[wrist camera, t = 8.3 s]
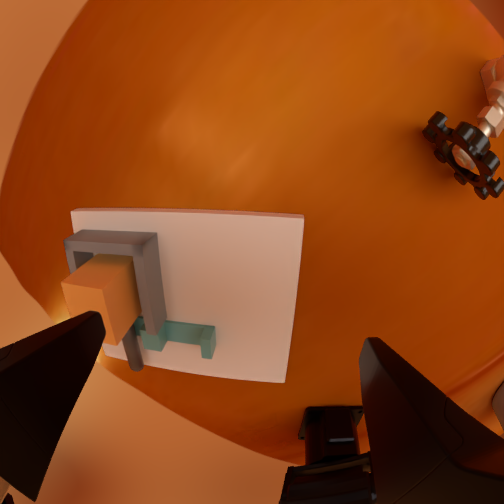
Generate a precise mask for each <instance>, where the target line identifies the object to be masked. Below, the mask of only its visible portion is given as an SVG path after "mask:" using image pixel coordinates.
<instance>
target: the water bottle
mask: <svg viewBox="0 0 504 504" xmlns="http://www.w3.org/2000/svg"><path fill="white" fill-rule="evenodd" d="M492 407H493V410H494V412H495V414H496V416H497V418H498V420H499V422H500V424H501V426H502V428H503V430H504V382H503V384H502V385H501V386H500V388H499V389H498V391H497V392H496V394H495V396H494V398H493V401H492Z"/></svg>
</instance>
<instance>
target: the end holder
mask: <svg viewBox="0 0 504 504" xmlns="http://www.w3.org/2000/svg"><path fill="white" fill-rule="evenodd" d="M63 241H64V246H65V251H66V256H67V261H68V265H69V270H70V274H72V273H73V272H74V271H76V270H77V269H78V268H79V267H81V266H82V265H83V264H85V263H86V262H87V261H89V260H90V259H91V258H93V257H94V256H93V253H102V254H114V255H126V256H133V261H134V268H135V275H136V281H137V287H138V293H139V298H140V303H141V309H142V314H143V319H144V324H145V328H146V333H147V334H149V335H155V336H156V335H157V334H158V332H159V330H160V329H161V327H162V325H163V323H164V322H165V320H166V318H167V312H166V306H165V299H164V291H163V283H162V275H161V267H160V257H159V247H158V237H157V232H135V231H112V230H86V229H82V230H80V231H78V232H76V233H75V234H73V235H71V236H70V237H68V238H66V239H65V240H63Z"/></svg>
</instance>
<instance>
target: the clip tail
mask: <svg viewBox="0 0 504 504" xmlns="http://www.w3.org/2000/svg"><path fill="white" fill-rule="evenodd" d="M134 327H135V331H136V335H138V336H141V338H142V342H143V346H144V349H149V350H153V349H152V345H151V340H150V336H149V334H147V333H146V328H145V324H144V319H143V316H138V317H137V319H136V320H135V322H134Z"/></svg>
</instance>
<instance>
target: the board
mask: <svg viewBox="0 0 504 504" xmlns="http://www.w3.org/2000/svg"><path fill="white" fill-rule="evenodd" d="M71 217H72V224H73V230H74V234H75V233H76V232H78V231H80V230H82V229H86V230H112V231H135V232H157V237H158V247H159V257H160V267H161V275H162V283H163V291H164V299H165V306H166V312H167V318H166V320H170V321H177V322H185V323H193V324H201V325H210V326H215V333H216V347H215V351H214V354H213V357H212V359H204V358H202V356H201V347H200V345H193V344H186V343H179V342H173V341H167V343H166V344H165V346H164V348H163V350H162V352H159V351H154V350H149V349H144V346H143V342H142V338H141V336H138V335H137V339H138V343H139V347H140V351H141V355H142V359H143V362H144V365H149V366H154V367H159V368H164V369H170V370H175V371H181V372H187V373H193V374H200V375H207V376H214V377H222V378H231V379H240V380H250V381H262V382H277V383H285V377H286V370H287V363H288V357H289V350H290V343H291V335H292V328H293V320H294V312H295V304H296V296H297V287H298V278H299V269H300V259H301V249H302V238H303V227H304V216H303V215H301V214H286V213H270V212H251V211H230V210H205V209H170V208H77V209H75V210H73V211H71ZM97 254H98V253H93V256H95V255H97ZM139 316H143V314H142V312H141V313H140V315H139ZM102 346H103V349H104V352H105V355H106V356H110V357H114V358H118V359H122V360H126V361H128V359H127V356H126V353H125V350H124V346H123V343H122V340H121V341H120V343H119V344H118V345H117V346H114V345H110V344H106V343H103V344H102Z"/></svg>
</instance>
